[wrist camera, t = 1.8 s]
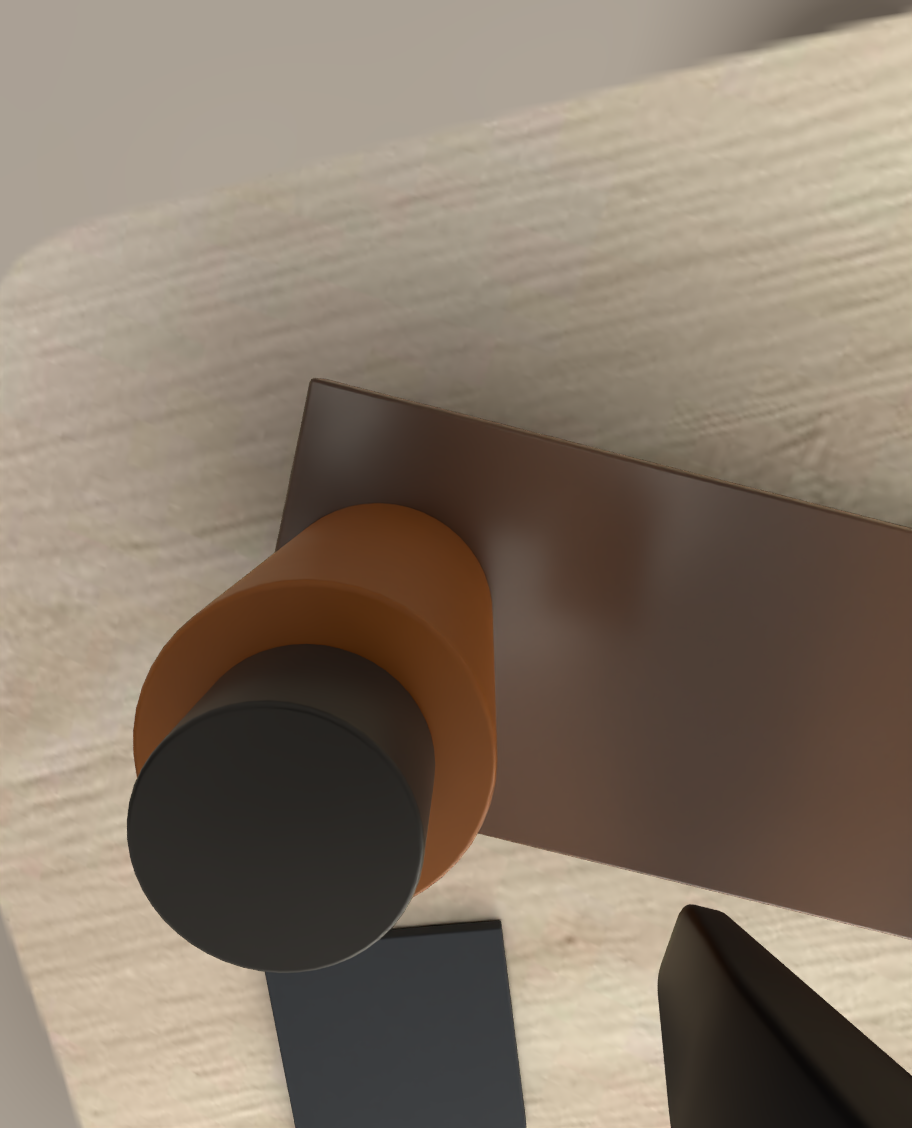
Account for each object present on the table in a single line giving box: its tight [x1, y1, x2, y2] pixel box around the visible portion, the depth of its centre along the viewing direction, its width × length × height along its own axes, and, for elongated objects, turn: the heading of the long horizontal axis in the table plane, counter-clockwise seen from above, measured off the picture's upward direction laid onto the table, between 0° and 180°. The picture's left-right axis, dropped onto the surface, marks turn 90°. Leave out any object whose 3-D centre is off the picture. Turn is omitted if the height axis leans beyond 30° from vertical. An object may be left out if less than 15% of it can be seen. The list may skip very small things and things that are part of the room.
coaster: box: [265, 921, 526, 1128], centre depth 24 cm, size 7×7×1 cm
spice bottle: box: [127, 503, 497, 973], centre depth 13 cm, size 5×5×9 cm
